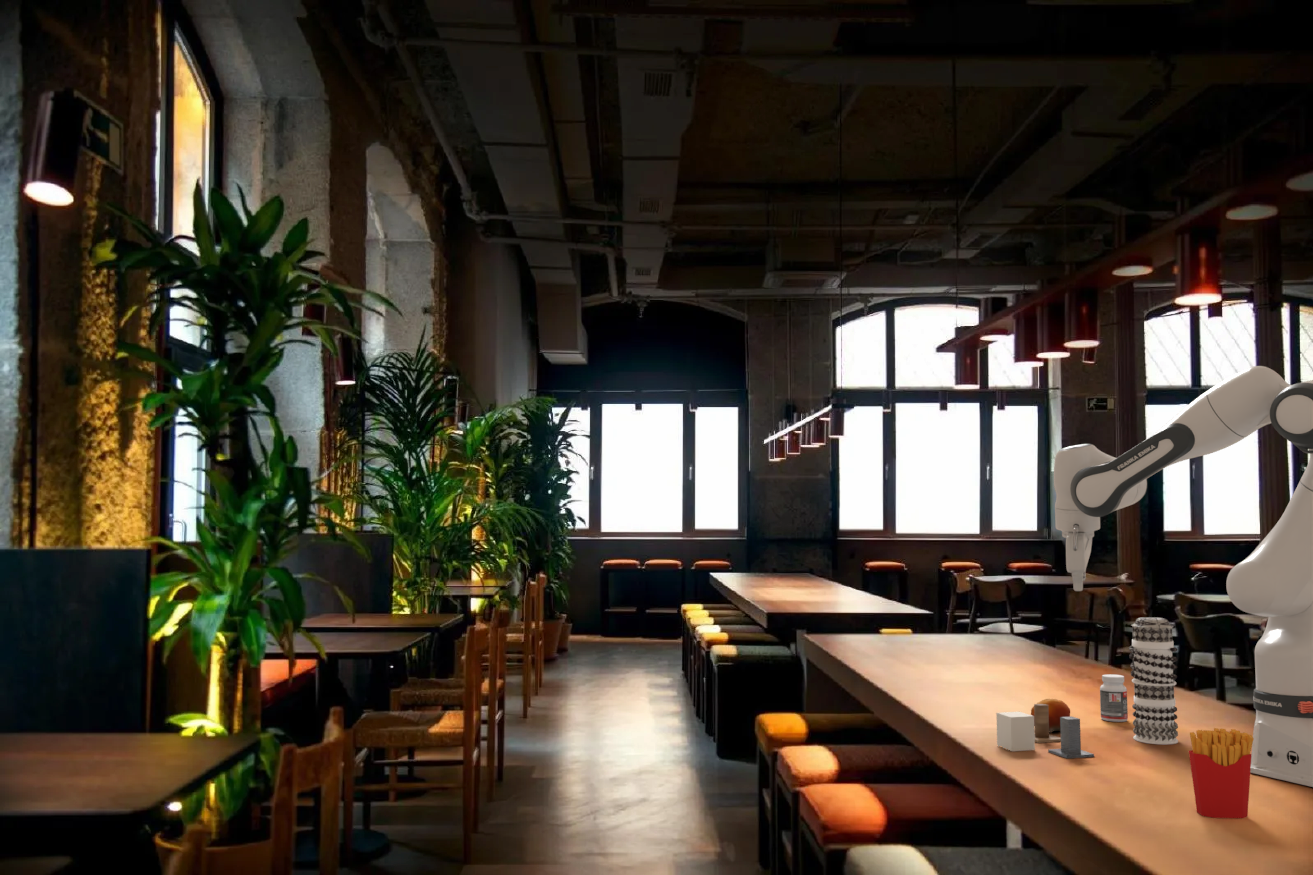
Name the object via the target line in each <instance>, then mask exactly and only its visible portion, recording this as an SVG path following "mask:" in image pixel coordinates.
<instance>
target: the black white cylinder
mask: <svg viewBox="0 0 1313 875" xmlns="http://www.w3.org/2000/svg"><path fill="white" fill-rule="evenodd" d="M1131 626H1132V639H1131V645H1130V646H1129V647H1128V650H1129V652H1131V653H1130V654H1129V659H1130V660H1132V662H1131V663H1129V664H1130V665H1129V666H1130V669H1132V670H1131V671H1130V676H1131V677H1133V678H1132V679H1131V682H1132V683H1133V687H1134V688H1133V689H1134V690H1133V692H1134V694H1133V704H1132V709H1133V710H1135V711H1133V712H1132V716H1133V717H1135V719H1133V721H1132V725H1133V726H1134V728H1133V730H1132V732H1133V734H1134V735H1133V737H1132V738H1133V740H1134V741H1136V742H1139V743H1144V744H1151V745H1175V744H1178V743H1179V739H1178V738H1177V737H1178V736H1179V732H1178V728H1179V726H1178V723H1177V722H1176V721H1175V720H1177V719H1178V715H1177V714H1175V713H1176V712H1177V711H1178V708H1177V706H1176V704H1177V703H1176V698H1175V686H1176V685H1177V682H1176V681H1175V680H1176V679H1177V678H1178V675H1176V674H1174V671H1175V670H1176V669H1177V668H1178V666H1177V665H1176V664H1174V663H1175V662H1177V661H1178V657H1176V656H1174V655H1173V653H1176V652H1178V648H1177V647H1175V645H1174V643H1175V642H1174V640H1173V628H1174V625H1172V624H1170V622H1169V620H1168V619H1167V618H1165V617H1164V618H1163V617H1155V616H1154V617H1152V616H1151V617H1150V616H1149V617H1138V618H1136V619H1135V621H1134V623H1133V624H1131Z"/></svg>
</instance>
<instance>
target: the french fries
mask: <svg viewBox="0 0 1313 875" xmlns="http://www.w3.org/2000/svg"><path fill="white" fill-rule="evenodd" d="M1195 732H1196V734H1195ZM1195 732H1194V731H1192V732H1189V736H1190V743H1191V747H1192V748H1191V750H1188V755H1189V757H1188V758H1189V764H1190V770H1191V778H1192V785H1193V786H1192V787H1193V792H1194V794H1193V795H1194V801H1195V807H1196V813H1197V814H1199V815H1200V816H1202V817H1208V818H1211V819H1212V818H1213V819H1214V818H1215V819H1245V818H1247V817H1248V814H1249V802H1250V801H1249V799H1250V798H1249V797H1250V782H1251V773H1250V770H1251V755H1252V754H1251V752H1252V743H1253V739H1254V738H1253V734H1249V733H1248V732H1241V731H1240V730H1236V729H1235V728H1231V729H1230V730H1229V731H1227V729H1226V728H1217V727H1214V728H1213V730H1206V729H1205V730H1203V729H1197V730H1196V731H1195Z"/></svg>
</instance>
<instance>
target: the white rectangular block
mask: <svg viewBox="0 0 1313 875" xmlns="http://www.w3.org/2000/svg"><path fill="white" fill-rule="evenodd" d="M995 714H996V745H998V746H997V747H999V746H1002V747H1003V748H1002V749H1004V748H1006V749H1005V750H1007V749H1008V750H1007V751H1009V750H1010V752H1022V751H1035V750H1036V742H1035V726H1034V716H1032V715H1031V714H1028V713H1026V712H1022V711H1008V712H1007V711H1004V712H996V713H995Z"/></svg>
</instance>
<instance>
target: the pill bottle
mask: <svg viewBox="0 0 1313 875" xmlns="http://www.w3.org/2000/svg"><path fill="white" fill-rule="evenodd" d="M1101 680H1102V682H1103V683H1102V684H1101V685H1100V686H1099V697H1100V698H1099V701H1100V702H1099V706H1100V719H1101V721H1102V720H1103V721H1106V722H1111V723H1112V722H1113V723H1124V722H1127V721H1128V720H1129V715H1128V714H1129V712H1128V689H1127V687H1126V686H1125V685H1124V683H1125V676H1124V675H1121V674H1110V673H1109V674H1107V673H1106V674H1102V675H1101Z"/></svg>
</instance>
